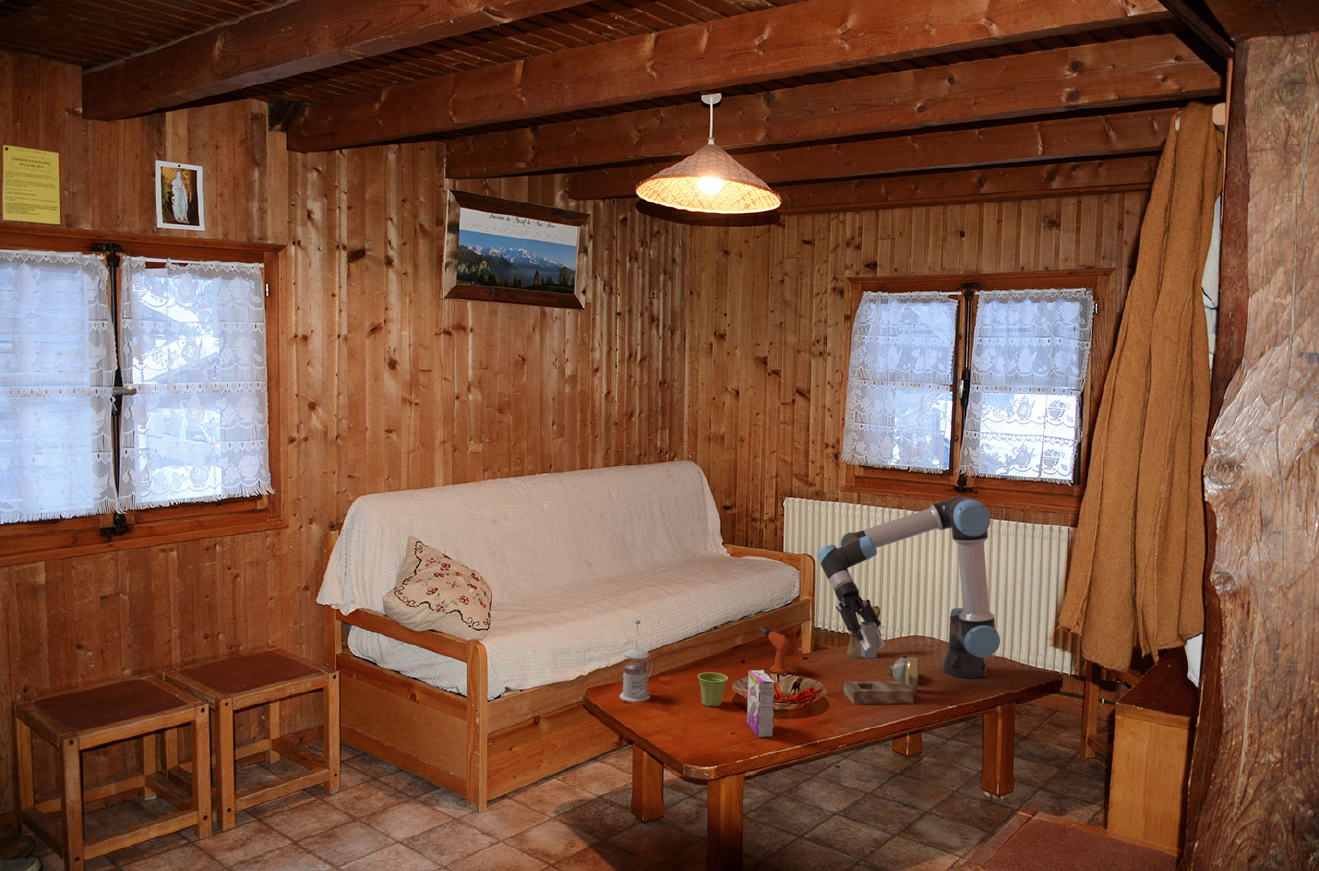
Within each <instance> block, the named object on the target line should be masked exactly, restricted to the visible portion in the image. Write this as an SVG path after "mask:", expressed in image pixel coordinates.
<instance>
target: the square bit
mask: <svg viewBox="0 0 1319 871" xmlns="http://www.w3.org/2000/svg"><path fill="white" fill-rule="evenodd" d="M860 625H861V629H863V631H864V633H865V635H866V637H867V639H868V641H869V643H870V645H871V647H870V648H869V649H868V650H867V651H865V650H864V648H863V646H862V644H861V655H862V656H863V657H864V658H863V659H872V658H873V659H875V658H877V654H878V653H877V652H878V651H877V650H878V649H877V648H878V646H877V625H876V624H875V623H874V622H873V621H870V622H865V621H860Z"/></svg>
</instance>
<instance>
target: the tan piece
mask: <svg viewBox="0 0 1319 871" xmlns="http://www.w3.org/2000/svg"><path fill="white" fill-rule="evenodd" d="M872 608H873V610H874V612H875V614H876V615H877V617H878V618H879V617H880V615H881V609H880V607H879V605H875V606H872ZM859 627H860V629H861V623H859ZM860 629H859V630H860ZM852 632H853V631H851V632H850V640H849V644H848V647H847V648H848V649H847V652H846V655H847V656H849V657H851V658H855V659H865V658H864V657H863V656H862V655H861V642H860V641H859V640H858V638H857V636H856V634H852Z"/></svg>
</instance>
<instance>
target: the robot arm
mask: <svg viewBox="0 0 1319 871" xmlns="http://www.w3.org/2000/svg"><path fill="white" fill-rule="evenodd" d="M990 525H991V514H990V512H989V510H988V508H987V507H986V506H985V504H983V503H982V502H980V501H978V500H976V499H974V498H973V499H972V498H970V496H969V497H968V496H966V495H965V496H964V495H957V496H953V497H949V498H946V499H945V500H941V501H938V502H935V503H933V504H930V507H929V508H927V509H924V510H921V511H918V512H914V513H912V514H909V515H905V516H902V517H900V518H896V519H892V520H890V521H887V522H884V523H880V524H878V525H874V526H871V527H868V528H866V529H865V528H864V529H862V530H859V531H856V532H846V533H844V534H843V535H842V536H841V538H840V541H839V543H840V544H839V545H840V547H837V546H836V545H834V544H827V545H825V546H823V547H821V548H820V549H819V550H818V551H817V555H816V558H817V559H818V561H819V564H820V567H821V568H822V570H823V573H824V574H825V576H826V578H827V580H828V581H829V583H830V585H831V588H832V590H833V591H834V595H835V596H836V598H837V600H838V601H839V603H837V605H835V609H836V610H837V611H838V612H839V613H840V616H841V618H842V621H843V623H844V625H845V627H846V629H847V631H848V632H849V633H851V631H853V632H852V634H856V636H857V638H858V640H859V641H860V642H861V644H862V646H863V648H864V650H865V651H867V650H868V649H869V648H870V647H871V645H870V643H869V641H868V639H867V637H866V635H865V633H864V631H863V629H860V627H859V624H860V623H859V620H858V616H860V617H861V619H862V620H863V622H870V621H873V622H874V623H875V624H876V625H877V648H878V649H879V650H880V649H882V648H883V647H884V646H885V645H886V643H885V641H884V639H883V637H882V634H881V631H880V630H879V627H880V626H881V624H882V623H881V621H880V619H879V617H877V615H876V614H875V612H874V610H873V608H872V607H873V606H872V605H871V600H870V599H869V598H867V599H866V600H864V599H863V598H862V597H861V596H860V590H859V588H858V587H857V585H856V583H855V581H854V579H853V577H852V574H851V573H850V571H849V568H851V567H853V566H856V565H858V564H861V563H863V562H865V561H867V560H871V558H874V557H876V555H878V550H877V549H878V548H880V547H883V546H886V545H890V544H894V543H897V542H899V541H900V542H901V541H902V540H906V539H909V538H912V537H915V536H918V535H922V534H924V533H927V532H931V531H934V530H939V531H943V530H947V529H951V534H952V540H953V541H954V542H955V543H956V544H957V550H958V551H957V552H958V564H959V577H960V579H959V580H960V590H961V602H962V603H961V604H962V607H954V608H952V609H951V610H950V615H949V630H948V631H949V632H948V633H949V634H948V635H949V636H948V647H947V648H948V649H947V651H946V654H945V657H944V659H943V661H942V665H941V666H942V668H941V669H942V671H943V672H944V673H945V674H948V675H951V676H954V677H958V678H963V679H964V678H965V679H981V678H984V677H985V676H987V666H986V663H985V658H988V657H991V656H992V655H994V654H995V653H996V651H997V650H999V647H1000V645H1001V638H1000V637H1001V636H1000V634H999V631H998V630H997V629H996V622H995V620H996V619H995V615H994V613H992V612H991V611H990V605H989V602H990V601H989V594H988V592H989V590H988V579H987V578H988V576H987V569H986V568H987V566H986V557H985V556H986V553H985V542H986V541H987V540H988V538H989V536H988V534H989V532H988V530H989V528H990ZM859 629H860V630H859ZM997 652H998V651H997Z"/></svg>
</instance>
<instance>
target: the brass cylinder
mask: <svg viewBox="0 0 1319 871" xmlns="http://www.w3.org/2000/svg"><path fill="white" fill-rule="evenodd" d="M919 663H920V659H919V658H918V657H916V656H915V657H914V656H907V660H906V677H905V684H906V685H907V686H908V687H910V688H911V689H912V690H913V691H914V694H916V693H918V681H919V673H918V670H919V666H920V664H919Z"/></svg>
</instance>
